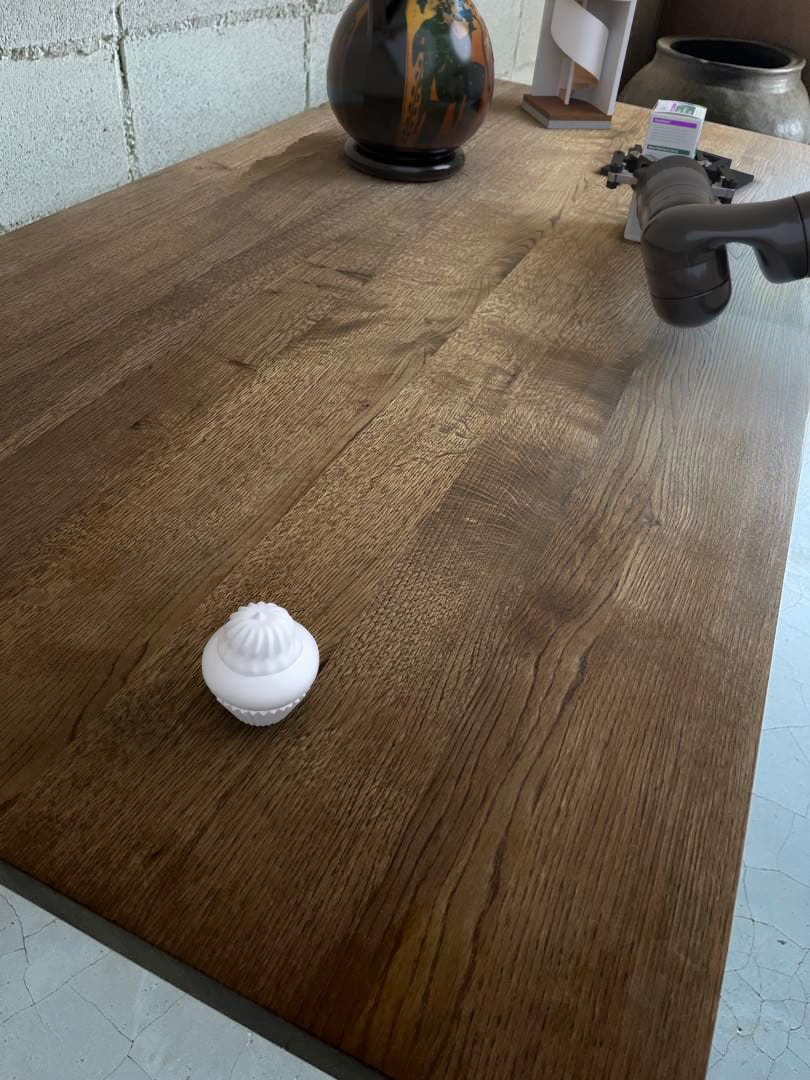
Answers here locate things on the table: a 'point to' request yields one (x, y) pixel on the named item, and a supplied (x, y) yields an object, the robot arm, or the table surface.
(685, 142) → the syrup box
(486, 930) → the table surface
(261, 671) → the muffin
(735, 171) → the dock pad
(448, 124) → the amphora vase
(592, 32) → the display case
